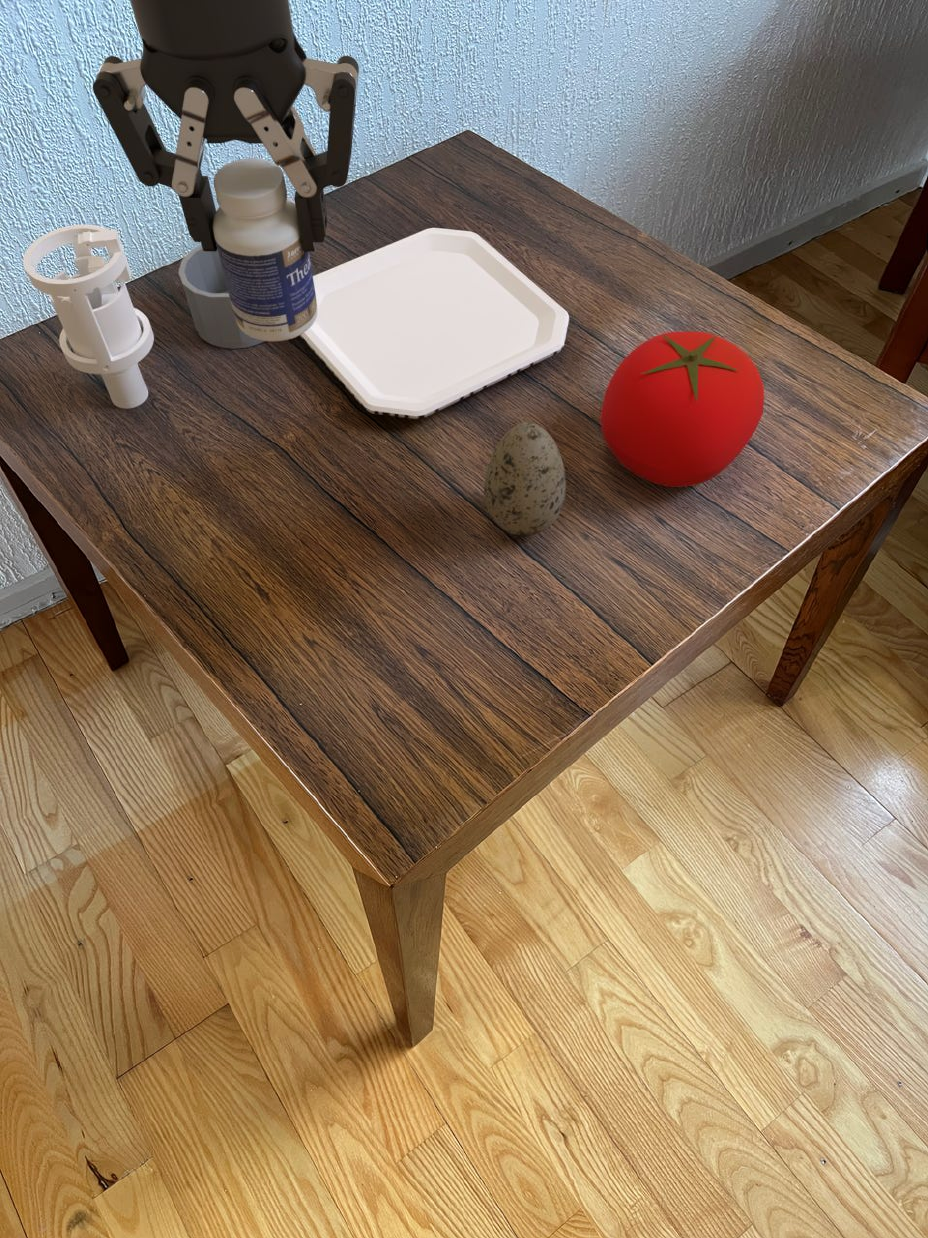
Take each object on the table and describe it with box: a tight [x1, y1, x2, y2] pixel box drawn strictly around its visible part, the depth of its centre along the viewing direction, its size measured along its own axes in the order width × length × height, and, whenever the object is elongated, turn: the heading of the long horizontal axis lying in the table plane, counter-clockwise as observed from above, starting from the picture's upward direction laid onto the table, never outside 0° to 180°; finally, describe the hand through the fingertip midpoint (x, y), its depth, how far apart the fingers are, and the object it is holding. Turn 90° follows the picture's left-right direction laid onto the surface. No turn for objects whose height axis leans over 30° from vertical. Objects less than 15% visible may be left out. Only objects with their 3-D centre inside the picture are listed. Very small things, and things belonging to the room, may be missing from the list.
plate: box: [299, 227, 570, 420], centre depth 85 cm, size 21×21×2 cm
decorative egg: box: [483, 422, 567, 537], centre depth 69 cm, size 6×6×10 cm
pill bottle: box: [213, 157, 318, 342], centre depth 58 cm, size 5×5×10 cm
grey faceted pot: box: [178, 244, 265, 350], centre depth 85 cm, size 8×8×6 cm
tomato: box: [600, 330, 765, 488], centre depth 72 cm, size 11×12×10 cm
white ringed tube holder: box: [22, 224, 155, 410], centre depth 75 cm, size 7×7×15 cm
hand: (261, 242), depth 58 cm, fingers closed on pill bottle, 5 cm apart
